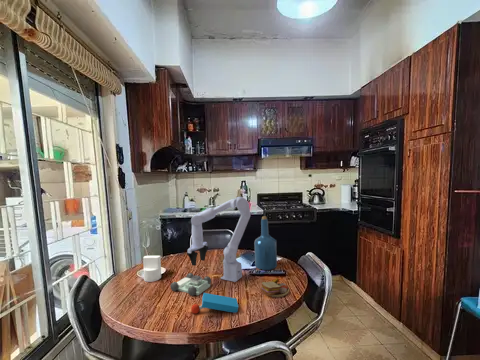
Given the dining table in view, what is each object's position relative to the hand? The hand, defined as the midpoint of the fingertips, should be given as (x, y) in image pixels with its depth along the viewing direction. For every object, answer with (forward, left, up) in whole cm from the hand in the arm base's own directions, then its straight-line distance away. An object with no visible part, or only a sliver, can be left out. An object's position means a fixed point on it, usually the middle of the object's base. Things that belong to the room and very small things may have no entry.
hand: (198, 262), depth 124 cm
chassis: (-2, +8, -9) cm, 13 cm away
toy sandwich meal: (-41, -5, -10) cm, 42 cm away
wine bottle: (-26, -32, -10) cm, 42 cm away
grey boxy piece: (-5, +8, -8) cm, 13 cm away
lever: (-23, +20, -10) cm, 32 cm away
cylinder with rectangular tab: (+26, +8, -10) cm, 29 cm away
